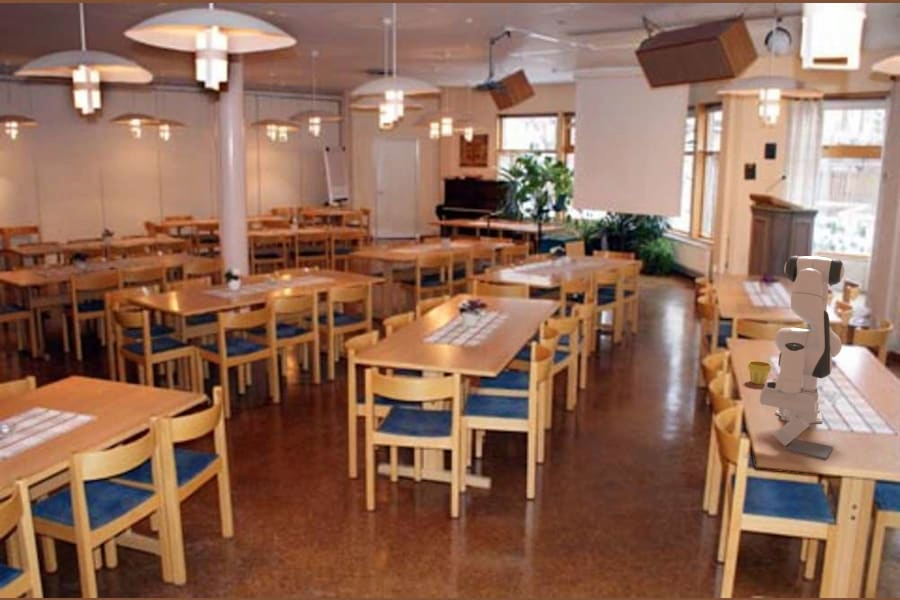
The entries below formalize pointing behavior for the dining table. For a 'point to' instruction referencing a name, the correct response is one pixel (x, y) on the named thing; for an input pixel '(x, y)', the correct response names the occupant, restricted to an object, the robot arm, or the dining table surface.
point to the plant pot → (759, 371)
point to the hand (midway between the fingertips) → (785, 419)
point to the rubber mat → (809, 449)
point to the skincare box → (791, 430)
